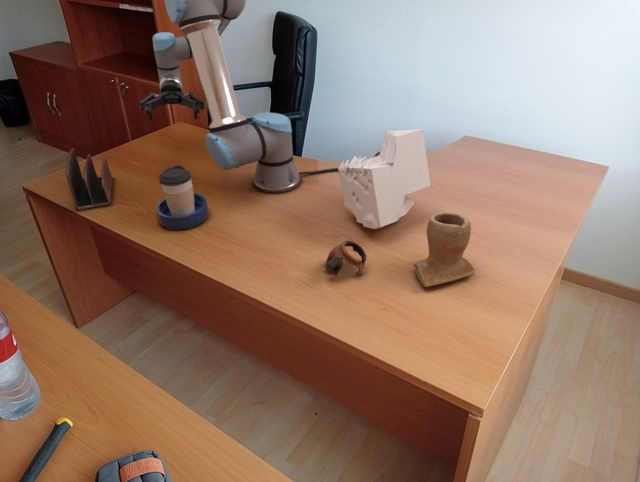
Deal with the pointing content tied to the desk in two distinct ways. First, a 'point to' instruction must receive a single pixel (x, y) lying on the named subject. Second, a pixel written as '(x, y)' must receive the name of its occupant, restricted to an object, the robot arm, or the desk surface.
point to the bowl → (185, 220)
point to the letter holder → (88, 183)
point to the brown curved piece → (344, 258)
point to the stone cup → (445, 250)
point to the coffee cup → (178, 190)
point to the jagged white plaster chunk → (385, 179)
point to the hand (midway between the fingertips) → (173, 116)
